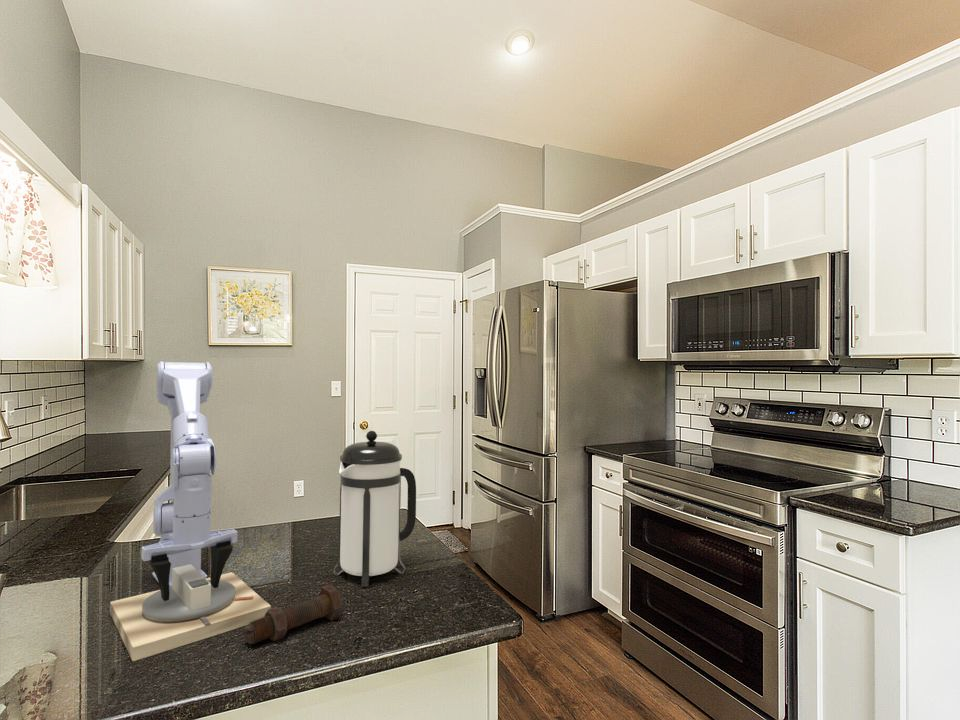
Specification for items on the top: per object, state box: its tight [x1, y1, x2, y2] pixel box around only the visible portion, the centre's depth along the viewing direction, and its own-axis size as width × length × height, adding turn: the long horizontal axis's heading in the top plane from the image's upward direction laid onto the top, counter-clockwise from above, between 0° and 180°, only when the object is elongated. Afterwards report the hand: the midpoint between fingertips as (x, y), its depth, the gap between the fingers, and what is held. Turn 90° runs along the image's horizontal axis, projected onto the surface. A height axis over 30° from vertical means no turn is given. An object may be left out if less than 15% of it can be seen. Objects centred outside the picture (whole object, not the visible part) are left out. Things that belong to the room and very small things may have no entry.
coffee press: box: [332, 430, 417, 588], centre depth 110 cm, size 17×16×30 cm
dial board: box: [109, 571, 272, 662], centre depth 89 cm, size 20×20×2 cm
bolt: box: [243, 584, 342, 645], centre depth 85 cm, size 6×5×15 cm
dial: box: [142, 564, 235, 622], centre depth 89 cm, size 14×14×5 cm
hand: (190, 592), depth 89 cm, fingers open, 7 cm apart
